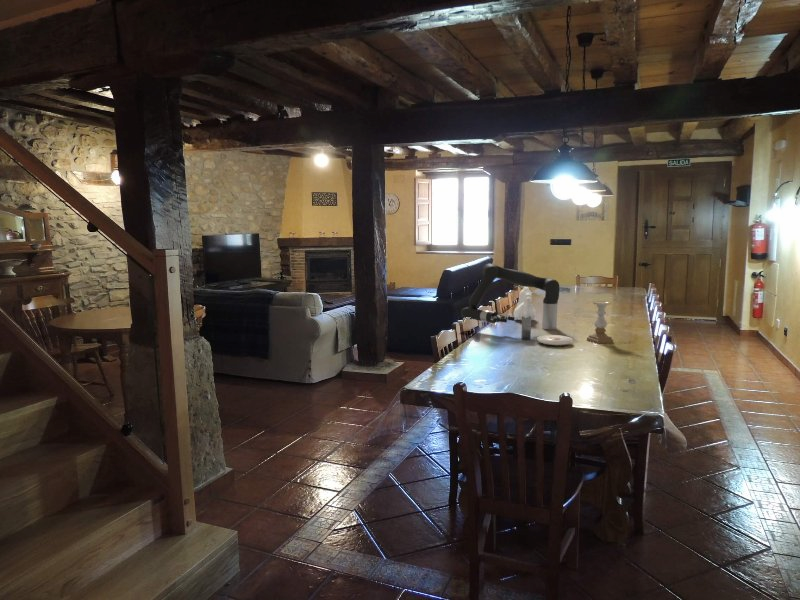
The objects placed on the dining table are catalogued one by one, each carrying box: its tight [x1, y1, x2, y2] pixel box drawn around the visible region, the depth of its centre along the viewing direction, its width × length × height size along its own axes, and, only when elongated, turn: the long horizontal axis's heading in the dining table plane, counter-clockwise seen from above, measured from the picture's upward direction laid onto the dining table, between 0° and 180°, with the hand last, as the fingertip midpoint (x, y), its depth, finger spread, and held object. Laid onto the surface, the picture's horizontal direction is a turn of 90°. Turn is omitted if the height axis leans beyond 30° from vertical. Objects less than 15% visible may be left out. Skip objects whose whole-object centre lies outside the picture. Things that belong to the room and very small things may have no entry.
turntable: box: [537, 334, 573, 346], centre depth 329 cm, size 20×20×2 cm
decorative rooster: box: [513, 286, 537, 321], centre depth 399 cm, size 25×16×25 cm, turn 164°
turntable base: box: [543, 343, 568, 347], centre depth 330 cm, size 14×14×2 cm
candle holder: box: [586, 300, 614, 345], centre depth 333 cm, size 11×11×24 cm
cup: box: [520, 316, 532, 341], centre depth 341 cm, size 6×6×14 cm
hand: (510, 319), depth 349 cm, fingers open, 8 cm apart
